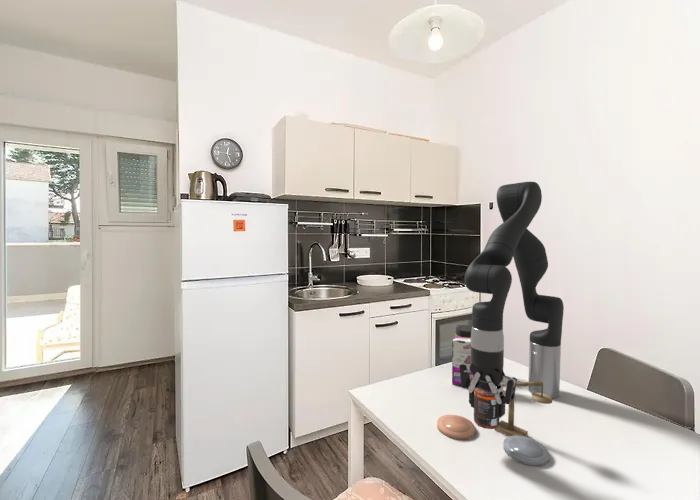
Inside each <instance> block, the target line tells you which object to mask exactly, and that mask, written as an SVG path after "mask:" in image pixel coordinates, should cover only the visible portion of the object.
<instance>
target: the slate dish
mask: <svg viewBox="0 0 700 500" xmlns="http://www.w3.org/2000/svg"><path fill="white" fill-rule="evenodd" d="M503 450H504V453H505V454H506V455H507V456H509V457H510V459H513V460H514V461H516V462H518V463H521V464H522V465H526V466H530V467H542V466H546V464H548V463H549V462H550V461H549V460H550V451H549V449H548V448H547V447H546V446H545V445H543V444H542V443H541V442H539V441H537V440H536V439H534V438H531V437H528V436H527V437H524V436H509V437H508V436H506V437H505V439H503Z"/></svg>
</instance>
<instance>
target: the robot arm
mask: <svg viewBox="0 0 700 500" xmlns="http://www.w3.org/2000/svg"><path fill="white" fill-rule="evenodd" d="M542 198H543V197H542V190H541V187H540V185H539V184H538V183H537V182H535V181H522V182H516V183H509V184H503V185H501V186H499V187H498V189H497V191H496V204H497V208H498V211H499V213H500V217H501V220H502V223H501V224H500V225H498V226H497V227H496V228H495V229H494V230H493V231H492V233H491V234H490V236H489V237H488V240H487V243H486V244H485V247H484V249H483V251H481V252H480V253H479V254H478V256H477V257H476V258H475V259H473V260H472V262H471V263H470V264H469V265H468V267H467V269H466V270H465V273H464V285H465V287H466V288H467V290H469V291H470V292H473V293H480V294H489V295H492V297H491V298H490V301H479V302H476V303H474V304H473V305H472V309H471V325H472V331H471V365H470V364H468V363H466V362H465V363H463V364H461V365H460V366H459V368H460V376H461V384H462V386H461V387H462V388H463V389H466V390H467V391H468V402H469V405H470V407H471V408H473V409H474V388H475V387H476V386H477V385H478V381H479V379H481V380H484V381H487V382H488V384H489V386H490V389H491V391H492V394H494V396H495V398H496V401H497V403H496V417H497V418H499V419H501V418H502V417H503V416H504V415H506V405H509V403H511V402H512V401H513V400H514V401H515V397H516V390H517V386H516V384H517V382H518V379H517V378H516V377H513V376H512V377H510V376H508V375H506V374H505V372H504V359H505V358H504V355H505V353H504V351H505V348H504V347H505V346H504V344H505V337H504V320H503V319H504V310H505V305H506V303H507V298H508V295H509V291H510V289H511V286H512V282H513V277H512V273H511V270H510V269H508V268H507V267H508V266H509V265H510V264H511V262H512V260H513V261H514V264H515V268H516V271H517V274H518V279H519V283H520V288H521V293H522V301H523V307H524V312H525V315H526V317H527V318H528V319H529V320H530V321H533V322H538V323H543V324H547V328H544V329H539V330H538V329H537V330H533V331H531V332H530V334H529V348H528V349H529V352H528V355H529V357H528V382H543V394H546V395H549V396H550V397H552V399H555V398H556V399H557V398H559V396H560V383H561V350H562V348H561V347H562V335H563V322H564V321H563V319H564V312H565V311H564V302H563V299H562V298H560V297H558V296H553V295H545V294H544V295H542V294H538V293H537V285H538V283H540V281H541V279H543V277H544V275H545V274H546V272H547V271H548V267H549V261H548V255H547V251H546V247H545V245H544V244H543V242H542V241H541V240H540V239H539V238H538V237H537V236H536V235H535V234H534V233H532V232H531V231H530V230H529V229H528V227H529V226H530V225H531V223H532V221H533V219H534V218H535V216H536V215H537V213H538V211H539V209H540V208H541V205H542V201H543V199H542ZM470 370H471V372H472V374H473V376H474V378H473V380H472V381H471V382H470V374H469V372H470ZM502 381H503V383H505V386H502V384H501V383H502ZM496 386H497V387H496ZM504 387H506V388H505V392H504ZM527 387H528V391H529V393H531V394H533V393H541V389H542V386H527ZM514 396H515V397H514Z"/></svg>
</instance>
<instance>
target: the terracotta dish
mask: <svg viewBox="0 0 700 500" xmlns="http://www.w3.org/2000/svg"><path fill="white" fill-rule="evenodd" d="M436 423H437V424H436V428H437V430H438V432H440V433H441V434H442V435H444V436H446V437H448V438H449V439H450V438H451V439H454V440H468V439H471V438H473V437H474V436H475V433H476V427H475V424H474V423H473V422H472V421H471V420H470V419H468V418H466V417H464V416H462V415H457V414H444V415H442V416H440V417H438V418H437V420H436Z"/></svg>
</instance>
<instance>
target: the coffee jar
mask: <svg viewBox="0 0 700 500" xmlns="http://www.w3.org/2000/svg"><path fill="white" fill-rule="evenodd" d="M471 331H472V324H457V325H456V327H455V332H454V335H455V336H454V337H461V338H471Z"/></svg>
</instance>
